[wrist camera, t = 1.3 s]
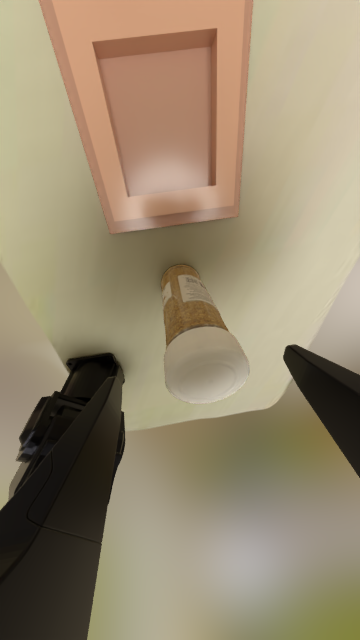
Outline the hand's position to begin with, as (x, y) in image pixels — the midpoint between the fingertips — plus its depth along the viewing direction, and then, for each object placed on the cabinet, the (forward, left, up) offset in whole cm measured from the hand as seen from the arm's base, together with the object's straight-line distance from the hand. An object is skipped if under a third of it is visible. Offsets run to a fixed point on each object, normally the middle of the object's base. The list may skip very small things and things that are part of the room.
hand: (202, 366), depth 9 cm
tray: (0, +11, -13) cm, 17 cm away
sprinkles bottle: (0, -1, -13) cm, 13 cm away
